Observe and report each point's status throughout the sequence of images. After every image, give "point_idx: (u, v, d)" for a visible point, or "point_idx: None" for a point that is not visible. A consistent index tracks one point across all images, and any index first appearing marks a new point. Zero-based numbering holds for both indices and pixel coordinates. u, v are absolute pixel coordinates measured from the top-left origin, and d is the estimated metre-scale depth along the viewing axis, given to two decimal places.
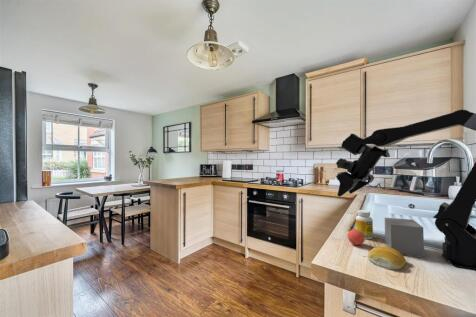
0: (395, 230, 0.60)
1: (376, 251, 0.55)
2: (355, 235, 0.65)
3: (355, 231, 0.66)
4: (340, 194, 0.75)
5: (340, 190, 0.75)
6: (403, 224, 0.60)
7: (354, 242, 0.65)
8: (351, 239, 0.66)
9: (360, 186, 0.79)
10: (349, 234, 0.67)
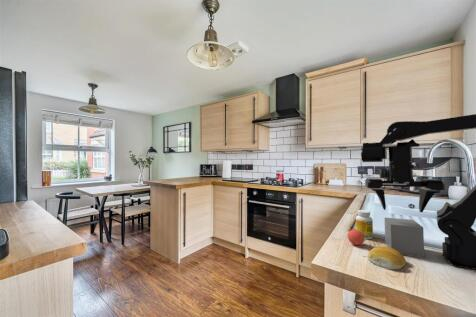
0: (395, 230, 0.60)
1: (376, 251, 0.55)
2: (355, 235, 0.65)
3: (355, 231, 0.66)
4: (382, 206, 0.64)
5: (380, 201, 0.65)
6: (403, 224, 0.60)
7: (354, 242, 0.65)
8: (351, 239, 0.66)
9: (423, 197, 0.59)
10: (349, 234, 0.67)
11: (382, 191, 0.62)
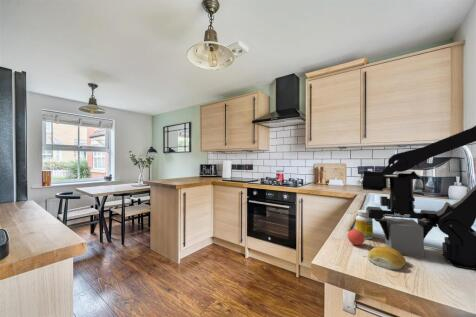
0: (395, 230, 0.60)
1: (376, 251, 0.55)
2: (355, 235, 0.65)
3: (355, 231, 0.66)
4: (385, 236, 0.64)
5: (383, 230, 0.65)
6: (403, 224, 0.60)
7: (354, 242, 0.65)
8: (351, 239, 0.66)
9: None
10: (349, 234, 0.67)
11: (385, 222, 0.62)
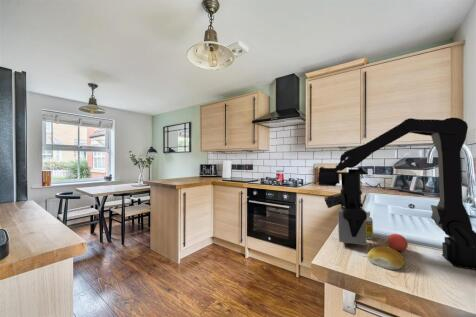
0: None
1: (375, 251, 0.55)
2: (394, 246, 0.61)
3: (389, 244, 0.62)
4: (355, 233, 0.63)
5: (352, 229, 0.63)
6: None
7: (404, 246, 0.60)
8: (401, 249, 0.60)
9: None
10: None
11: None
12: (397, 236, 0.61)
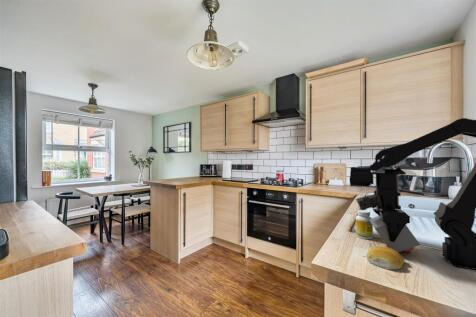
0: None
1: (375, 251, 0.55)
2: None
3: None
4: (394, 238, 0.59)
5: (390, 233, 0.59)
6: None
7: (409, 249, 0.59)
8: (404, 250, 0.60)
9: None
10: None
11: None
12: None
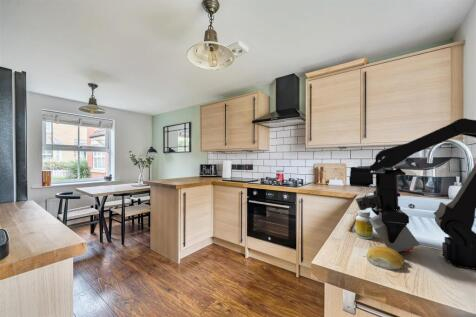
0: None
1: (375, 251, 0.55)
2: None
3: None
4: (393, 239, 0.58)
5: (390, 234, 0.58)
6: None
7: (409, 249, 0.59)
8: (404, 250, 0.60)
9: None
10: None
11: None
12: None
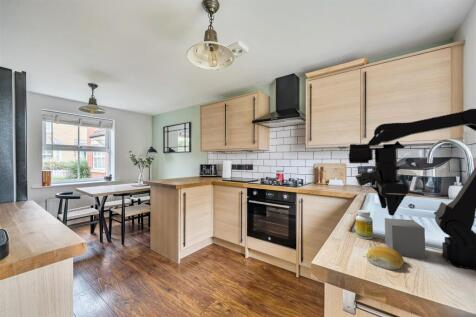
0: None
1: (374, 251, 0.55)
2: None
3: None
4: (393, 211, 0.59)
5: (389, 206, 0.59)
6: (414, 223, 0.60)
7: None
8: None
9: None
10: None
11: None
12: None
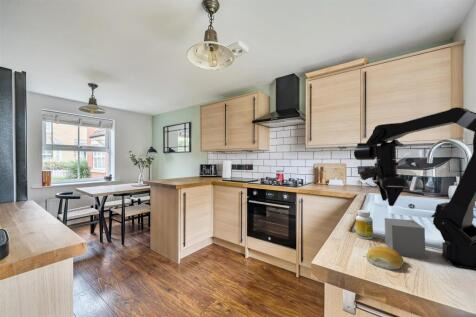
0: None
1: (374, 251, 0.55)
2: None
3: None
4: (393, 202, 0.66)
5: (389, 198, 0.66)
6: (414, 223, 0.60)
7: None
8: None
9: None
10: None
11: None
12: None
